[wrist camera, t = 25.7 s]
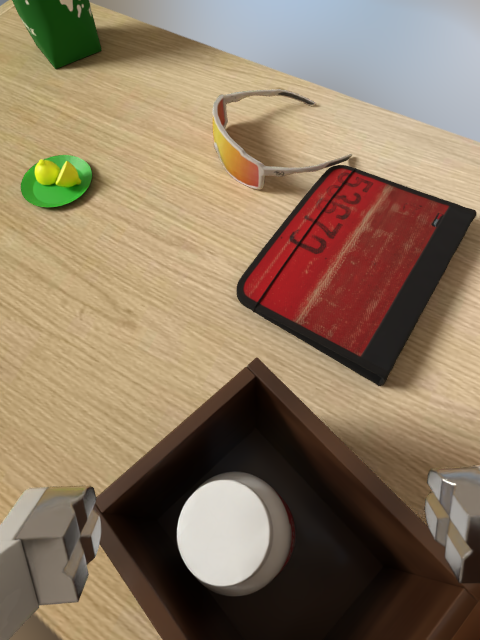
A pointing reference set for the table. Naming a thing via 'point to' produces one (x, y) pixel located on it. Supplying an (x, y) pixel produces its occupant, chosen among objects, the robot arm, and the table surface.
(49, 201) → the plate with lemons
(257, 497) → the pill bottle
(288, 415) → the chest
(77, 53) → the soya milk
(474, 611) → the chest lid
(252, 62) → the table surface
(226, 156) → the sunglasses
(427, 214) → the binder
